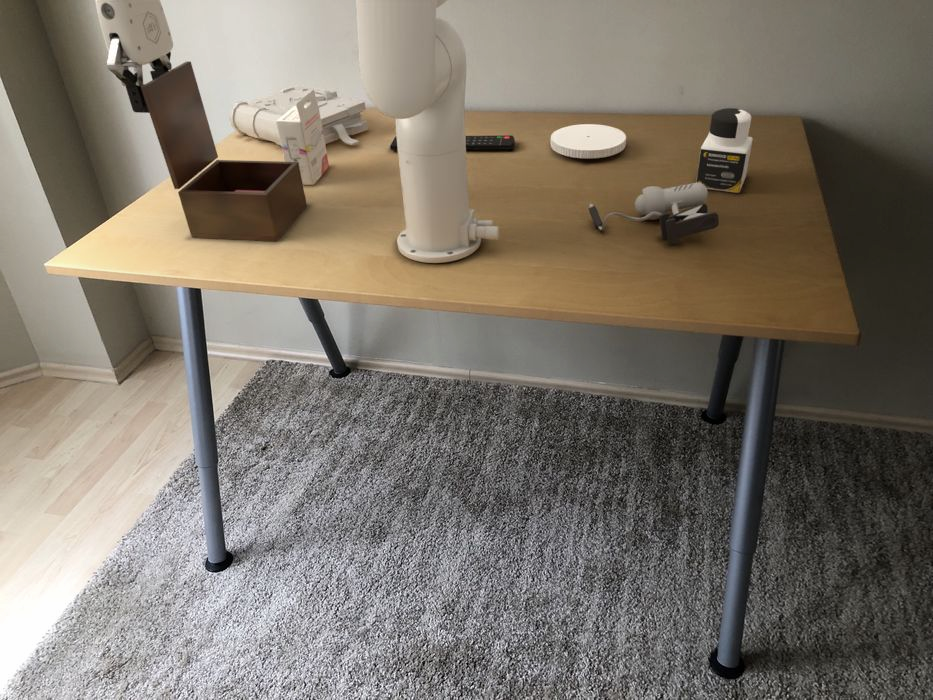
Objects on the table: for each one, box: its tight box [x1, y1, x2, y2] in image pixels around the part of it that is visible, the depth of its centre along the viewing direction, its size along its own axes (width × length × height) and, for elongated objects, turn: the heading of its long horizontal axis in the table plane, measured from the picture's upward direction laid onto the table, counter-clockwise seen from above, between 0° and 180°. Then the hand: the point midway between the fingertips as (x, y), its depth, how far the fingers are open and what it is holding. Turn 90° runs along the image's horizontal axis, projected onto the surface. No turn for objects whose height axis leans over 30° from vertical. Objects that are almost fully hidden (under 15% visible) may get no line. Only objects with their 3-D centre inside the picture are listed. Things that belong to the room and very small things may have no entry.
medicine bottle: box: [695, 107, 754, 194], centre depth 119 cm, size 7×7×12 cm
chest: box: [177, 159, 308, 242], centre depth 118 cm, size 15×13×8 cm
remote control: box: [389, 134, 516, 151], centre depth 142 cm, size 5×24×1 cm, turn 83°
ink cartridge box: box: [276, 90, 330, 186], centre depth 130 cm, size 9×5×15 cm, turn 168°
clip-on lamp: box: [588, 182, 720, 246], centre depth 109 cm, size 12×6×18 cm
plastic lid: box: [550, 123, 627, 160], centre depth 137 cm, size 14×14×2 cm
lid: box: [141, 61, 219, 190], centre depth 113 cm, size 15×13×6 cm
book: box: [229, 84, 369, 146], centre depth 150 cm, size 19×28×8 cm
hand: (155, 103), depth 111 cm, fingers closed on lid, 6 cm apart
